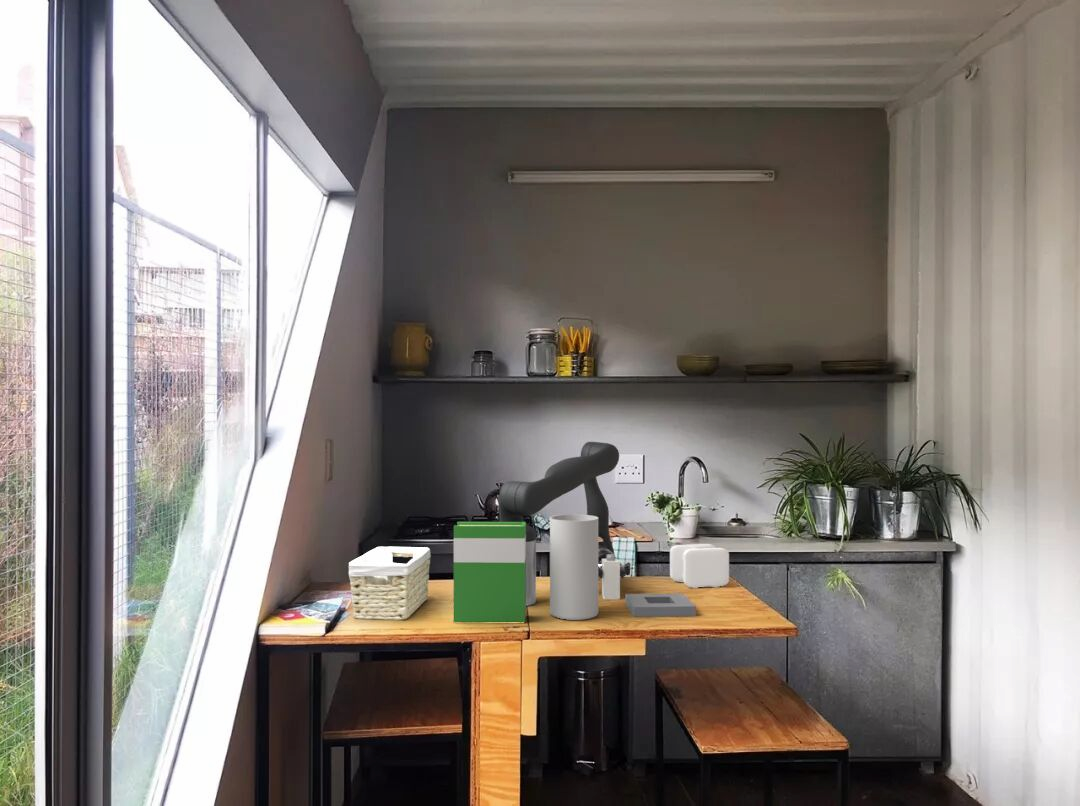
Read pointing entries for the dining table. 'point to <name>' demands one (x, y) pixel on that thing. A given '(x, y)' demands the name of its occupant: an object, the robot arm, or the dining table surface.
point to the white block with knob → (611, 577)
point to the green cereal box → (490, 572)
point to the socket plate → (659, 605)
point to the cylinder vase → (574, 566)
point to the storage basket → (389, 583)
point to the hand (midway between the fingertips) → (612, 574)
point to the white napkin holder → (699, 565)
